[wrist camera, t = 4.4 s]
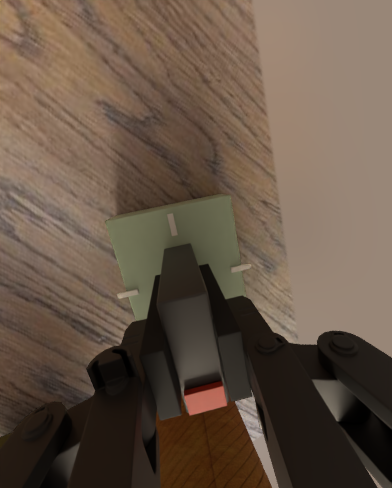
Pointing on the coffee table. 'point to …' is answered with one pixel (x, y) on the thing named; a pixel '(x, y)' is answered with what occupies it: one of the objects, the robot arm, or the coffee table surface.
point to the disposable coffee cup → (208, 451)
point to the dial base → (175, 234)
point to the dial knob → (190, 331)
